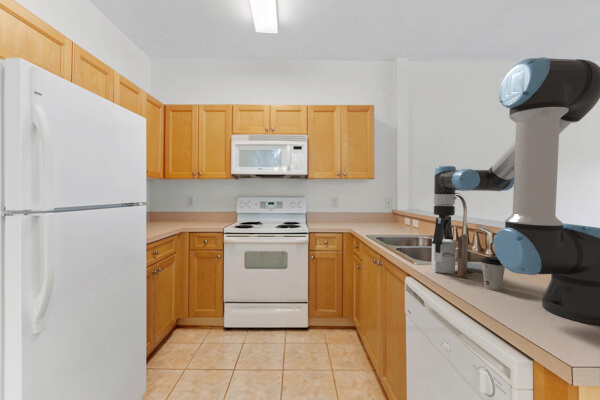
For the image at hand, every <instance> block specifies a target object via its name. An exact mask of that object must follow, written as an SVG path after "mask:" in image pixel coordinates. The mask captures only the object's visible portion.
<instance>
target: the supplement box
mask: <svg viewBox="0 0 600 400" xmlns="http://www.w3.org/2000/svg"><path fill="white" fill-rule="evenodd" d="M432 241H433V238H432V239H431V242H432ZM442 244H443V252H442V262H440V261H434V249H435V244H432V243H431V261H430V262H431V270H432V271H433V272H434V273H442V274H451V275H452V273H456V252H457V251H456V248H457V247H456V245H457V242H456V241H455V240H454V239H453V240H451V239H444V238H443V241H442Z"/></svg>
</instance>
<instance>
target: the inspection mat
mask: <svg viewBox="0 0 600 400" xmlns="http://www.w3.org/2000/svg"><path fill="white" fill-rule="evenodd" d="M467 269H470V270H473V273H479V274H483V269H482V264H478V263H471V262H467Z"/></svg>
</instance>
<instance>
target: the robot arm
mask: <svg viewBox="0 0 600 400" xmlns="http://www.w3.org/2000/svg"><path fill="white" fill-rule="evenodd" d="M599 100H600V66H599V64H597V63H595V62H593V61H591V60H588V59H581V58H580V59H577V58H576V59H567V58H548V57H535V58H526V59H523V60H521V61H519V62H517V63H516V64H515V65H513V67H512V68H511V69H509V71H508V72H507V74H506V75H505V76H504V78H503V80H502V82H501V85H500V88H499V92H498V101H499V103H500V104H501V106H502V107H504V108H507V109H509V119H510V120H511V121H513V122H514V123H515V140H514V141H513V143H512V144H510V146H509V147H508V148H507V149H506V150H505V152H504V153H502V154H501V156H500V157H499V158H498V159H497V160H496V161H495V163H493V165H492V166H490V167H489V169H472V168H471V169H470V168H461V169H457V168H456V166H453V165H442V166H441V165H439V166H437V167H435V169H434V176H433V177H434V181H433V182H434V186H433V187H434V189H433V191H434V194H433V204H434V206H433V215H435V216H438V217H436V218H435V227H434V234H433V238H432V239H433V241H432V240H431V245H432V244H435V249H434V261H440V262H442V252H443V244H442V241H443V239H451V240H453V241H454V237H453V230H452V229H453V227H452V216H455V215H456V214H455V212H456V207H455V206H454V205H455V204H456V200H457V199H458V198H457V196H456V191H461V192H466V191H467V192H468V191H471V192H473V191H474V192H475V191H478V192H479V191H480V192H481V191H484V192H503V191H504V192H505V191H509V190H510V189H512V188H513V193H512V194H513V197H512V214H511V215H510V216H509V217H508V218H506V219H505V220H504V227H503V228H501V229H499V230H498V231H497V232H496V234H494V237H493V242H492V243H493V250H494V253H495V257H497V258H498V260H500V262H501V264H502V265H503V266H504V267H505V269H506V270H508V271H509V272H511V273H514V274H517V275H528V276H537V275H551V276H550V277H551V279H550V281H549V283H548V285H547V287H546V289H545V292H544V293H543V295H542V299H541V306H542V308H544V309H545V310H546V311H548V312H550V313H551V314H554V315H556V316H559V317H563V318H566V319H568V320H569V319H570V320H573V321H577V322H581V323H585V324H592V325H598V326H600V227H597V226H588V225H580V224H572V223H563V222H562V221H561V220H560V219H559V218H557V216H556V210H557V209H556V207H557V190H558V189H557V187H558V186H557V185H558V170H559V169H558V165H559V147H560V146H559V145H560V144H559V143H560V134H561V133H562V132H563V131H564V130H565V129H566V128H568V126H570V125H571V123H577V122H578V123H579V122H580V121H581V120H582V119H583V118H584V117H585V116H586V115H587V114H589V112H590V111H591V110H592V109H593V108H594V107H595V106H596V105H597V103H598V102H599Z"/></svg>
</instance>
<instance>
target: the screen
mask: <svg viewBox="0 0 600 400" xmlns="http://www.w3.org/2000/svg"><path fill="white" fill-rule="evenodd" d="M468 249H469V234H468V233H463V234H462V235H459V236H458V239H457V272H455V273H452V274H451V277H455V278H459V279H466V280H468V277H469V275H468V274H473V273H474V272H473V270H470V269H467V263H468V256H469V255H468V251H469V250H468ZM466 273H468V274H466Z"/></svg>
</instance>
